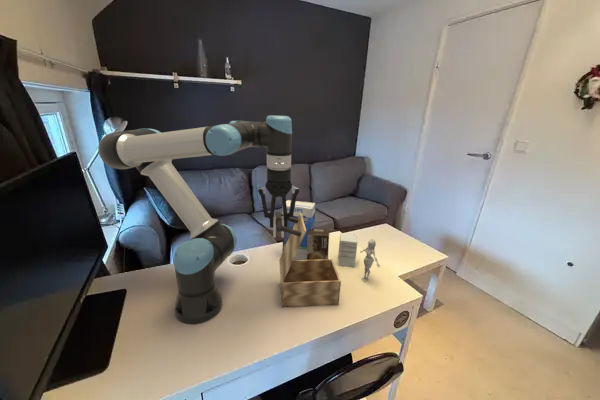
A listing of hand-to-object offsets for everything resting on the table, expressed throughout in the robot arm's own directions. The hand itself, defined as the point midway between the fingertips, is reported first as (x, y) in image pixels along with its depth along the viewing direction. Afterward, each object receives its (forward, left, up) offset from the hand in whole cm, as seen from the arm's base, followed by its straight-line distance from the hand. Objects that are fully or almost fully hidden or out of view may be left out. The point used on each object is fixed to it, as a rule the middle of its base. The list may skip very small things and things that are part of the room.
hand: (278, 235), depth 93 cm
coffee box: (+18, +19, -24) cm, 35 cm away
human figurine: (+36, +7, -24) cm, 44 cm away
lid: (+5, 0, -5) cm, 7 cm away
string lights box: (+10, +26, -24) cm, 37 cm away
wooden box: (+11, 0, -24) cm, 27 cm away
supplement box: (+31, +20, -24) cm, 44 cm away
